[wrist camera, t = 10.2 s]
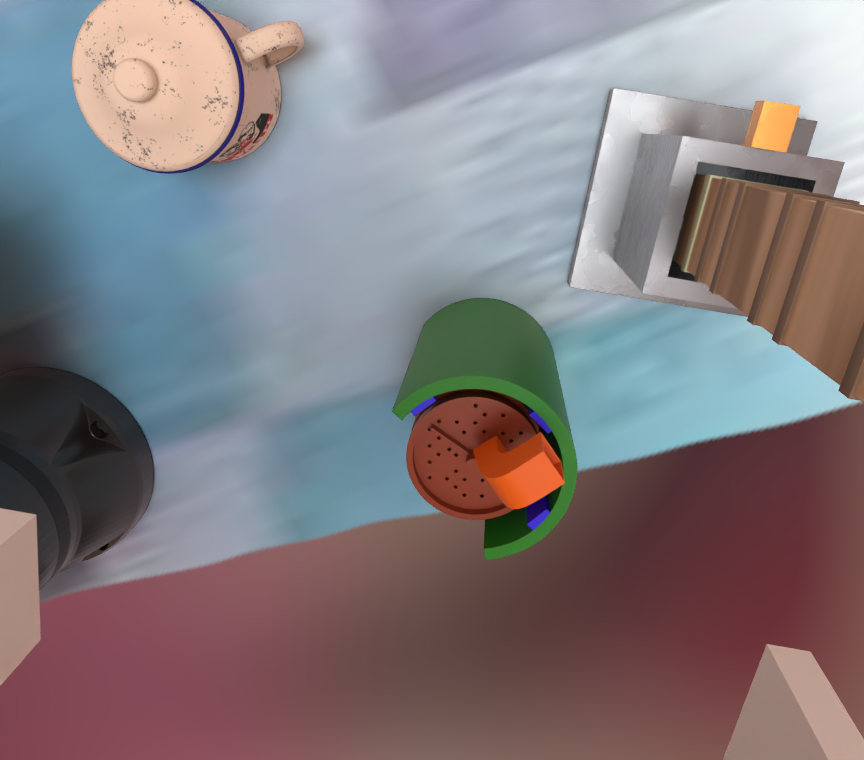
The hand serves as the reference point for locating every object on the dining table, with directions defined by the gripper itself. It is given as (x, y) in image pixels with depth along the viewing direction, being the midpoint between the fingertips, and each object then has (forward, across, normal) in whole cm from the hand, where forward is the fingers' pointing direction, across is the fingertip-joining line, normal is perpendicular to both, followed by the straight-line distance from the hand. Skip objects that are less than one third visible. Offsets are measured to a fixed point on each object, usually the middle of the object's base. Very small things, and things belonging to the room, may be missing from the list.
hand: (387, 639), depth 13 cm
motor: (+38, +3, -7) cm, 39 cm away
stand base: (+38, +13, +6) cm, 40 cm away
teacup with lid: (+38, -16, +9) cm, 42 cm away
